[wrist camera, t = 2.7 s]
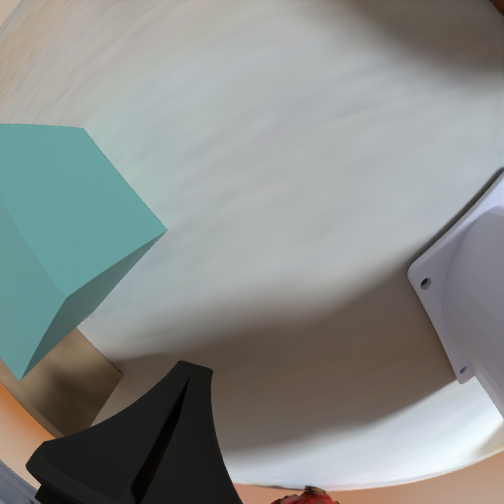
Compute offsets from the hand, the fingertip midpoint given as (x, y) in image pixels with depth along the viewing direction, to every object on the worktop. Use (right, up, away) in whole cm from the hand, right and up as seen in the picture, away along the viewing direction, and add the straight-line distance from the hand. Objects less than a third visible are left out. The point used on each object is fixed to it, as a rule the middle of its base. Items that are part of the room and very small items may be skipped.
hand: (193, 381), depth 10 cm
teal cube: (-5, +6, 0) cm, 8 cm away
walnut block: (-10, +4, +2) cm, 11 cm away
